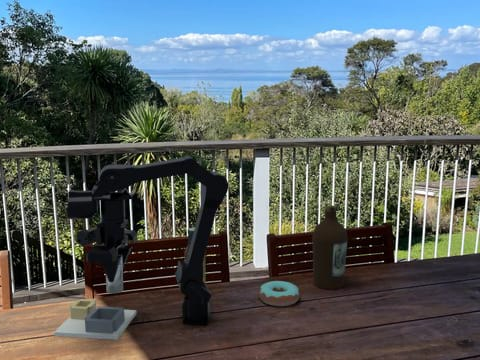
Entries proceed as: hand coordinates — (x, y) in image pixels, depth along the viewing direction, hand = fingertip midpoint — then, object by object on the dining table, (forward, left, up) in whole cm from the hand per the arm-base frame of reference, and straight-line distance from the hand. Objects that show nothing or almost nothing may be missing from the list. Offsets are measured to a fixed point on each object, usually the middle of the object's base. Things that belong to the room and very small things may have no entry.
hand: (114, 278), depth 116 cm
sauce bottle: (-15, -24, -14) cm, 31 cm away
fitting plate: (+6, -2, -14) cm, 15 cm away
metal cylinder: (0, 0, -3) cm, 3 cm away
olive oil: (-55, -36, -14) cm, 67 cm away
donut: (-40, -23, -14) cm, 48 cm away
